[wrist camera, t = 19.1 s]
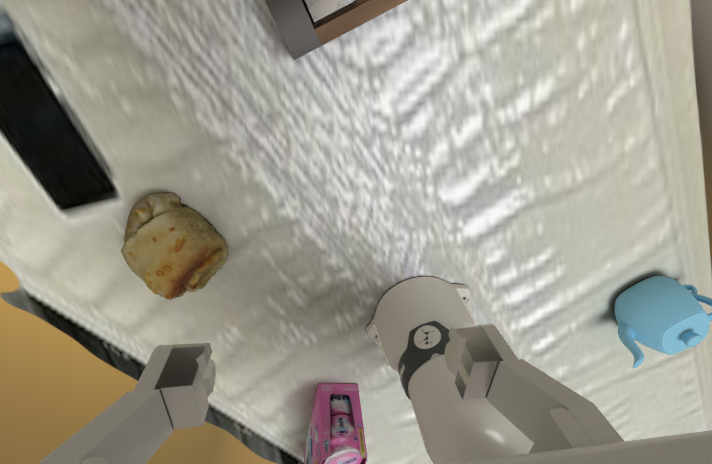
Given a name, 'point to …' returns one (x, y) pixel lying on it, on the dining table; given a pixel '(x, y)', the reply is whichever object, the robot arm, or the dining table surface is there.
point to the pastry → (171, 246)
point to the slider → (325, 8)
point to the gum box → (336, 427)
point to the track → (321, 22)
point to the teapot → (661, 316)
